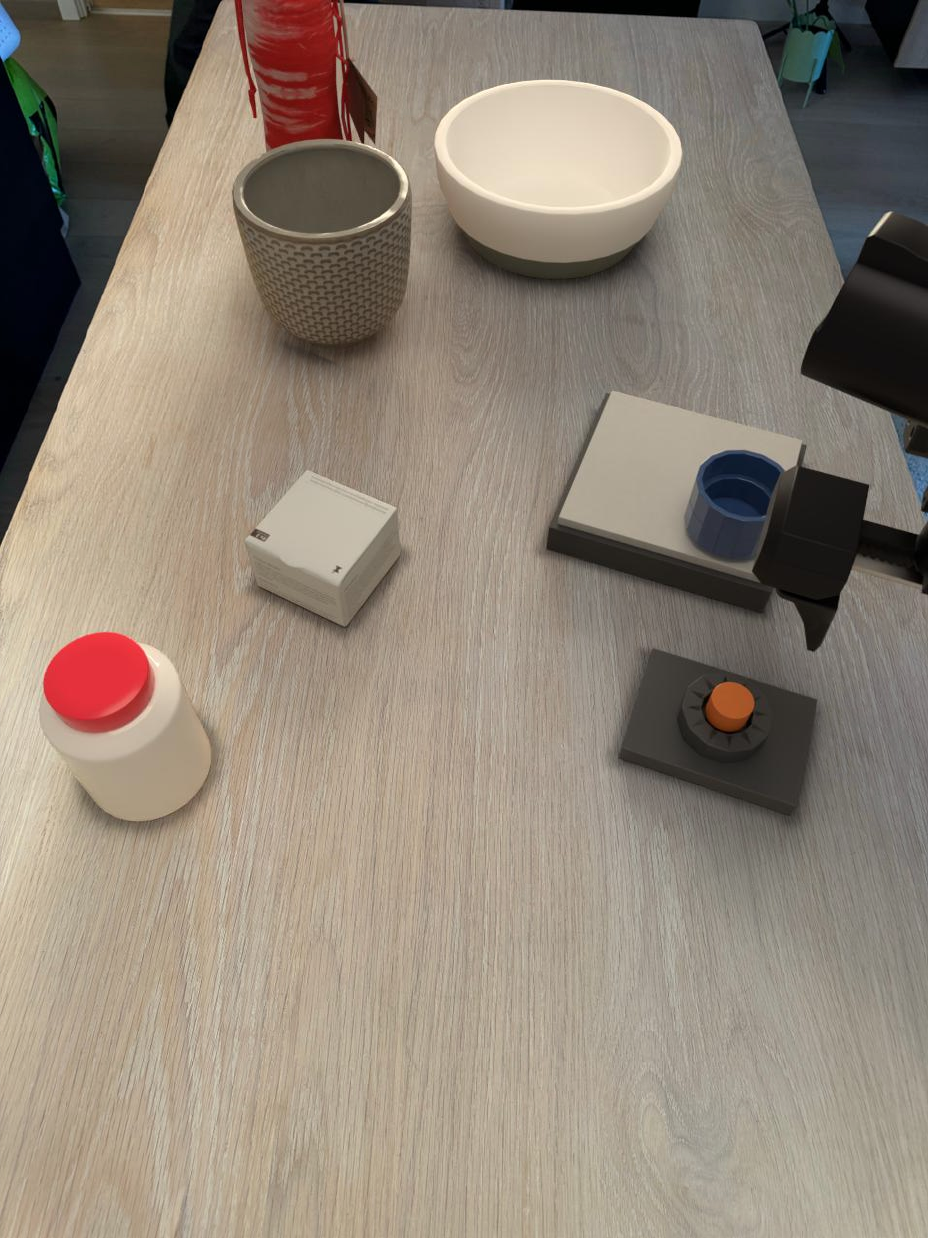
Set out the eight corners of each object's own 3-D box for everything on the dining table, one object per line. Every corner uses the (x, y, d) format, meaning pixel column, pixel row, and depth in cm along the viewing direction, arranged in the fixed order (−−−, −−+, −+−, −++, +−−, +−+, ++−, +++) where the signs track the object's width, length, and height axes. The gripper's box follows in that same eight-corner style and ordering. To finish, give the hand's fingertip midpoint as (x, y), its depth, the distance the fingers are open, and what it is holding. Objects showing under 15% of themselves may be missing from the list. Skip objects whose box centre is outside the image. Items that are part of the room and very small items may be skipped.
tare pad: (811, 709, 62) (826, 686, 60) (790, 816, 58) (805, 796, 56) (649, 658, 64) (657, 634, 62) (617, 758, 60) (625, 736, 58)
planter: (393, 388, 79) (384, 251, 68) (235, 362, 81) (203, 224, 70) (432, 287, 87) (430, 149, 76) (287, 265, 88) (265, 127, 78)
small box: (403, 553, 69) (401, 507, 65) (345, 631, 65) (338, 587, 61) (315, 513, 71) (306, 465, 67) (253, 586, 67) (240, 541, 63)
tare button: (750, 703, 60) (758, 689, 58) (742, 737, 58) (750, 724, 57) (710, 690, 60) (716, 676, 59) (701, 724, 59) (707, 710, 57)
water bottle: (394, 193, 95) (379, -105, 74) (382, 240, 91) (363, -62, 70) (276, 184, 96) (229, -113, 75) (259, 231, 91) (203, -71, 71)
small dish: (781, 508, 68) (801, 464, 64) (765, 574, 64) (784, 532, 61) (694, 483, 69) (708, 439, 65) (673, 547, 66) (687, 505, 62)
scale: (797, 467, 75) (810, 437, 72) (761, 613, 67) (775, 585, 64) (601, 415, 78) (607, 384, 75) (545, 548, 70) (549, 519, 67)
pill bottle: (85, 832, 57) (16, 751, 48) (87, 721, 61) (24, 626, 52) (215, 808, 58) (171, 724, 49) (208, 700, 62) (166, 604, 53)
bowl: (605, 328, 84) (619, 244, 77) (390, 249, 90) (385, 164, 83) (700, 202, 95) (720, 118, 88) (503, 139, 101) (507, 56, 94)
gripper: (1293, 393, 40) (1086, 606, 53) (843, 289, 43) (752, 513, 56) (1328, 594, 34) (1085, 779, 47) (804, 455, 37) (712, 662, 50)
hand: (899, 670), depth 50 cm, fingers open, 9 cm apart
